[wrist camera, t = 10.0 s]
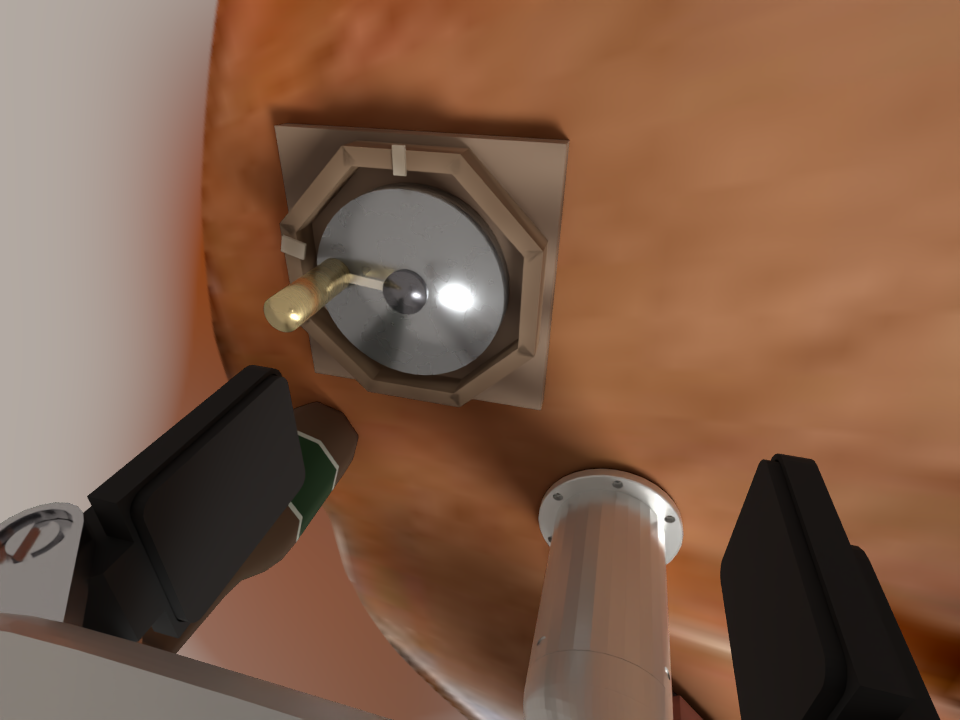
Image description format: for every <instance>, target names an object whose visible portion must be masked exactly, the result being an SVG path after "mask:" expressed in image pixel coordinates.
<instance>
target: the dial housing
mask: <svg viewBox="0 0 960 720" xmlns="http://www.w3.org/2000/svg"><path fill="white" fill-rule="evenodd" d="M275 132H276V138H277V144H278V150H279V156H280V162H281V168H282V174H283V180H284V187H285V193H286V199H287V205H288V211H289V213H288V214H287V215H286V216H285V218H284V219H283V220H282V221H281V223H280V229H281V235H282V242H281V252H284V253H285V258H286V263H287V269H288V275H289V280H290V284H291V283H292V282H294V281H295V280H297V279H298V278H300V277H301V276H303V275H304V274H306V273H307V272H309V271H310V270H312V269H313V268H315V267H316V266H317V255H318V249H319V245H320V241H321V238H322V235H323V233H324V231H325V229H326V227H327V225H328V224H329V222H330V221H331V219H332V218H333V216H334V215H335V214H336V213H337V212H338V211H339V210H340V209H341V208H342V207H343V206H345V205H346V204H348V203H349V202H350V201H352V200H354V199H355V198H357V197H359V196H361V195H363V194H365V193H367V192H369V191H371V190H373V189H375V188H378V187H381V186H384V185H388V184H394V183H417V184H424V185H428V186H432V187H435V188H438V189H440V190H443V191H445V192H448V193H450V194H451V195H453V196H455V197H457V198H458V199H460V200H461V201H463V202H464V203H465V204H467V205H468V206H469V207H471V208H472V209H473V210H474V211H475V212H476V213H477V214H478V215H479V216H480V217H481V218H482V219H483V220H484V221H485V223H486V224H487V225H488V226H489V228H490V229H491V231H492V232H493V234H494V235H495V237H496V239H497V240H498V242H499V245H500V247H501V249H502V251H503V254H504V257H505V260H506V263H507V268H508V273H509V284H510V291H509V301H508V305H507V309H506V313H505V315H504V318H503V320H502V323H501V325H500V327H499V329H498V331H497V333H496V335H495V336H494V338H493V340H492V341H491V343H490V344H489V346H488V347H487V348H486V349H485V351H484V352H483V353H482V354H481V355H479V356H478V357H477V358H476V359H475V360H473V361H472V362H470V363H469V364H467V365H466V366H464V367H461V368H459V369H457V370H454V371H451V372H448V373H443V374H437V375H417V374H410V373H405V372H401V371H398V370H395V369H391V368H389V367H387V366H385V365H382V364H380V363H378V362H377V361H375V360H373V359H371V358H370V357H368V356H367V355H366V354H364V353H363V352H361V351H360V350H359V349H358V348H357V347H355V346H354V345H353V344H352V343H351V342H350V341H349V340H348V339H347V338H346V337H345V336H344V334H343V333H342V332H341V331H340V329H339V328H338V327H337V325H336V324H335V322H334V321H333V319H332V317H331V316H330V314H329V312H328V310H327V308H326V306H325V305H324V306H323V307H322V308H321V309H320V310H318V311H317V312H316V313H315V314H314V315H312V316H311V317H310V318H309V319H307V320H306V321H305V322H304V323H303V324H301V325H300V326H301V327H302V328H303V329H304V330H305V331H306V332H307V333H308V334H309V339H310V345H311V351H312V357H313V363H314V369H315V373H321V374H327V375H333V376H339V377H345V378H350V379H356V380H357V381H358V382H359V383H360V384H361V385H362V386H363V387H364V388H365V389H366V390H367V391H368V392H374V393H380V394H385V395H391V396H397V397H403V398H409V399H414V400H420V401H426V402H432V403H438V404H444V405H449V406H455V407H461V406H462V405H464V404H465V403H467V402H468V401H470V400H471V399H476V400H482V401H488V402H494V403H500V404H506V405H512V406H518V407H524V408H530V409H536V410H541V407H542V404H543V400H544V390H545V380H546V370H547V360H548V350H549V340H550V330H551V320H552V310H553V300H554V290H555V280H556V270H557V260H558V250H559V240H560V230H561V220H562V210H563V200H564V190H565V180H566V170H567V160H568V150H569V140H555V139H539V138H522V137H506V136H490V135H473V134H457V133H440V132H424V131H408V130H391V129H375V128H359V127H342V126H326V125H310V124H293V123H285V124H280V125H276V126H275Z"/></svg>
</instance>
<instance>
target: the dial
mask: <svg viewBox="0 0 960 720" xmlns="http://www.w3.org/2000/svg"><path fill="white" fill-rule="evenodd" d="M509 291H510V284H509V273H508V268H507V263H506V260H505V257H504V254H503V251H502V249H501V247H500V245H499V242H498V240H497V239H496V237H495V235H494V234H493V232H492V231H491V229H490V228H489V226H488V225H487V224H486V223H485V221H484V220H483V219H482V218H481V217H480V216H479V215H478V214H477V213H476V212H475V211H474V210H473V209H472V208H471V207H469V206H468V205H467V204H465V203H464V202H463V201H461V200H460V199H458V198H457V197H455V196H453V195H451V194H450V193H448V192H445V191H443V190H440V189H438V188H435V187H432V186H428V185H424V184H417V183H394V184H388V185H384V186H381V187H378V188H375V189H373V190H371V191H369V192H367V193H365V194H363V195H361V196H359V197H357V198H355V199H354V200H352V201H350V202H349V203H348V204H346V205H345V206H343V207H342V208H341V209H340V210H339V211H338V212H337V213H336V214H335V215H334V216H333V218H332V219H331V221H330V222H329V224H328V225H327V227H326V229H325V231H324V233H323V235H322V238H321V241H320V245H319V249H318V255H317V266H316V267H315V268H313V269H312V270H310V271H309V272H307V273H306V274H304V275H303V276H301V277H300V278H298V279H297V280H295V281H294V282H292V283H291V284H290V285H288V286H287V287H285V288H284V289H282V290H281V291H279V292H278V293H276V294H275V295H273V296H272V297H270V298H269V299H268V300H267V301H266V302H265V304H264V314H265V317H266V319H267V320H268V322H269V323H270V324H271V325H272V326H273V327H274V328H276V329H277V330H279V331H282V332H292V331H294V330H295V329H296V328H298V327H299V326H300V325H301V324H303V323H304V322H305V321H306V320H307V319H309V318H310V317H311V316H312V315H314V314H315V313H316V312H317V311H318V310H320V309H321V308H322V307H323V306H324V305H325V306H326V308H327V310H328V312H329V314H330V316H331V317H332V319H333V321H334V322H335V324H336V325H337V327H338V328H339V329H340V331H341V332H342V333H343V334H344V336H345V337H346V338H347V339H348V340H349V341H350V342H351V343H352V344H353V345H354V346H355V347H357V348H358V349H359V350H360V351H361V352H363V353H364V354H366V355H367V356H368V357H370V358H371V359H373V360H375V361H377V362H378V363H380V364H382V365H385V366H387V367H389V368H391V369H395V370H398V371H401V372H405V373H410V374H417V375H437V374H443V373H448V372H451V371H454V370H457V369H459V368H461V367H464V366H466V365H467V364H469V363H470V362H472V361H473V360H475V359H476V358H477V357H478V356H479V355H481V354H482V353H483V352H484V351H485V349H486V348H487V347H488V346H489V344H490V343H491V341H492V340H493V338H494V336H495V335H496V333H497V331H498V329H499V327H500V325H501V323H502V320H503V318H504V315H505V313H506V309H507V305H508V301H509Z"/></svg>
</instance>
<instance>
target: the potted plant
mask: <svg viewBox="0 0 960 720" xmlns="http://www.w3.org/2000/svg"><path fill="white" fill-rule="evenodd" d="M672 703H673V720H703V719H702V718H701V717H700V716H699V715H698V714H697V713H696V712H695V711H694V710H693V709H692V708H691V707H690V706H689V704H688V703H687V702H686V701H685V700H684V699H683V698H682V697H681V696H680V695H679V696H677V695H676V694H675V693H674V692H673V691H672Z"/></svg>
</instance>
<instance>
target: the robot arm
mask: <svg viewBox="0 0 960 720" xmlns="http://www.w3.org/2000/svg"><path fill="white" fill-rule="evenodd" d="M304 480H305V467H304V462H303V457H302V452H301V447H300V442H299V437H298V432H297V427H296V422H295V417H294V412H293V406H292V401H291V396H290V391H289V386H288V382H287V380H286V379H285V378H284V377H282V375H281V373H280V372H279V370H277V369H273V368H267V367H262V366H256V365H249V366H247V367H246V368H244V369H243V370H242V371H241V372H239V373H238V374H237V375H236V376H234V377H233V378H232V379H231V380H229V381H228V382H227V383H226V384H225V385H223V386H222V387H221V388H220V389H218V390H217V391H216V392H215V393H214V394H212V395H211V396H210V397H209V398H208V399H206V400H205V401H204V402H202V403H201V404H200V405H199V406H198V407H196V408H195V409H194V410H193V411H191V412H190V413H189V414H188V415H186V416H185V417H184V418H183V419H182V420H180V421H179V422H178V423H177V424H176V425H174V426H173V427H172V428H171V429H169V430H168V431H167V432H166V433H164V434H163V435H162V436H161V437H159V438H158V439H157V440H156V441H155V442H153V443H152V444H151V445H150V446H148V447H147V448H146V449H145V450H144V451H142V452H141V453H140V454H139V455H137V456H136V457H135V458H134V459H133V460H131V461H130V462H129V463H128V464H126V465H125V466H124V467H123V468H122V469H120V470H119V471H118V472H116V473H115V474H114V475H113V476H112V477H110V478H109V479H108V480H107V481H105V482H104V483H103V484H102V485H101V486H99V487H98V488H97V489H96V490H94V491H93V492H92V493H91V494H89V495H88V496H87V497H88V499H89V501H90V503H91V505H92V506H91V507H90V508H89V509H88V510H86V511H85V512H84V513H83V512H82V511H81V510H80V508H79V507H78V506H75V505H73V504H70V503H56V502H55V503H49V504H44V505H39V506H36V507H33V508H30V509H27V510H24V511H22V512H20V513H18V514H16V515H14V516H12V517H10V518H8V519H7V520H5V521H4V522H2V523H1V524H0V720H392V719H388V718H385V717H382V716H379V715H376V714H372V713H369V712H365V711H363V710H359V709H356V708H353V707H349V706H346V705H343V704H340V703H336V702H333V701H330V700H326V699H323V698H320V697H317V696H313V695H310V694H307V693H303V692H300V691H297V690H293V689H290V688H287V687H284V686H281V685H277V684H274V683H271V682H268V681H264V680H261V679H258V678H254V677H251V676H247V675H244V674H241V673H238V672H234V671H231V670H227V669H224V668H221V667H217V666H214V665H211V664H208V663H204V662H201V661H198V660H194V659H191V658H188V657H184V656H181V655H178V654H174V653H171V652H168V651H164V650H161V649H158V648H154V647H151V646H148V645H144V644H142V637H143V636H144V634H145V633H146V632H147V631H148V630H149V628H150V627H151V626H152V628H153V631H154V632H158V633H161V634H164V635H168V636H171V637H175V638H178V639H179V638H180V636H181V635H182V634H183V632H184V631H185V630H186V629H187V627H188V626H189V625H190V623H194V622H197V621H198V620H200V619H201V618H202V616H203V615H204V614H205V613H206V612H207V610H208V609H209V608H210V606H211V605H212V604H213V602H214V601H215V600H216V599H217V597H218V596H219V595H220V593H221V592H222V591H223V589H224V588H225V587H226V586H227V584H228V583H229V582H230V580H231V579H232V578H233V576H234V575H235V574H236V572H237V571H238V570H239V569H240V567H241V566H242V565H243V563H244V562H245V561H246V559H247V558H248V557H249V556H250V554H251V553H252V552H253V550H254V549H255V548H256V546H257V545H258V544H259V543H260V541H261V540H262V539H263V537H264V536H265V535H266V533H267V532H268V531H269V529H270V528H271V527H272V526H273V524H274V523H275V522H276V520H277V519H278V518H279V516H280V515H281V514H282V513H283V511H284V510H285V509H286V507H287V506H288V505H289V503H290V502H291V501H292V500H293V498H294V497H295V496H296V494H297V493H298V492H299V490H300V489H301V487H302V486H303V483H304ZM538 520H539V526H540V530H541V533H542V535H543V538H544V539H545V541H546V542H547V544H548V545H549V547H550V551H549V556H548V562H547V567H546V573H545V578H544V584H543V589H542V595H541V600H540V606H539V611H538V617H537V622H536V628H535V634H534V639H533V645H532V650H531V656H530V661H529V667H528V672H527V678H526V684H525V690H524V700H523V709H524V719H525V720H673V703H672V682H671V662H670V641H669V620H668V599H667V579H666V564H668V563H669V562H670V561H671V560H672V559H673V558H674V557H675V556H676V555H677V553H678V551H679V549H680V547H681V545H682V540H683V523H682V519H681V515H680V512H679V510H678V508H677V506H676V505H675V503H674V502H673V500H672V499H671V498H670V497H669V496H668V495H667V493H665V492H664V491H663V490H662V489H660V488H659V487H658V486H657V485H655V484H653V483H652V482H650V481H648V480H646V479H644V478H642V477H640V476H637V475H634V474H632V473H628V472H624V471H619V470H612V469H589V470H583V471H579V472H575V473H572V474H570V475H567V476H565V477H563V478H561V479H560V480H558V481H557V482H555V483H554V484H553V485H552V486H551V487H550V488H549V489H548V490H547V492H546V493H545V495H544V497H543V499H542V502H541V506H540V510H539V518H538ZM720 578H721V586H722V593H723V600H724V607H725V613H726V620H727V627H728V633H729V640H730V647H731V653H732V660H733V667H734V674H735V680H736V687H737V694H738V700H739V707H740V714H741V720H940V718H939V716H938V714H937V711H936V709H935V707H934V705H933V702H932V700H931V698H930V696H929V693H928V691H927V689H926V687H925V684H924V682H923V680H922V678H921V675H920V673H919V671H918V669H917V666H916V664H915V662H914V660H913V657H912V655H911V653H910V651H909V648H908V646H907V644H906V642H905V639H904V637H903V635H902V633H901V630H900V628H899V626H898V624H897V621H896V619H895V617H894V615H893V612H892V610H891V608H890V606H889V603H888V601H887V599H886V597H885V594H884V592H883V590H882V588H881V585H880V583H879V581H878V579H877V576H876V574H875V572H874V570H873V567H872V565H871V563H870V561H869V559H868V557H867V555H866V554H865V552H864V551H863V550H862V549H861V548H859V547H858V546H854V545H850V543H849V540H848V538H847V535H846V533H845V531H844V528H843V526H842V524H841V521H840V519H839V516H838V514H837V512H836V509H835V507H834V505H833V502H832V500H831V497H830V495H829V493H828V490H827V488H826V485H825V483H824V481H823V478H822V476H821V474H820V471H819V469H818V466H817V464H816V463H815V461H814V460H812V459H807V458H801V457H795V456H789V455H784V454H775V455H774V456H773V457H772V459H771V461H770V460H761V462H760V463H759V465H758V468H757V470H756V473H755V476H754V478H753V481H752V483H751V486H750V489H749V491H748V494H747V496H746V499H745V502H744V504H743V507H742V510H741V512H740V515H739V517H738V520H737V523H736V525H735V528H734V530H733V533H732V536H731V538H730V541H729V543H728V546H727V549H726V551H725V554H724V557H723V559H722V563H721V571H720Z"/></svg>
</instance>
